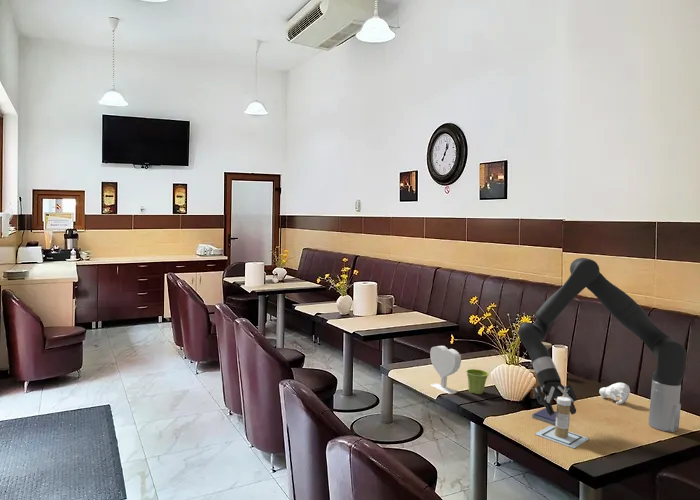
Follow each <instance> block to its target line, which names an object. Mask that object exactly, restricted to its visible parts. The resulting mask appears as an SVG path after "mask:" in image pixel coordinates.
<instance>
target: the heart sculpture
mask: <svg viewBox="0 0 700 500" xmlns="http://www.w3.org/2000/svg"><path fill="white" fill-rule="evenodd" d="M429 355H430V362H431V365H432V366H433V368H434V370H435V372H436V373H437V374H438V375H439V377H440V383H432V384H430V387H432V388H435V389H437V390H439V391H441V392H444V393H447V394H449V395H450V394H456V393H458V391H456V390H454V389H451V388H450V387H447V385H448V384H447V383H448V382H447V380H448V377H449V376H451V375H454V374H455V373H456V372H458V371H459V369H460V367H461V363H462V355H461V354H460V352H458V350H456V349H453V348H449V349H448V347H446V346H445V345H437V346H432V347H431V348H430V352H429Z"/></svg>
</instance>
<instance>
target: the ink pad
mask: <svg viewBox="0 0 700 500" xmlns="http://www.w3.org/2000/svg"><path fill="white" fill-rule="evenodd" d="M556 413H557V411H554V415H552V416H550V415H549V414H548V413H547V410H546V407H544V408H543V409H540V410H538V411H536V412H534V413H533V414H531V418H532V419H536V420H538V421H542V422H544V423H547V424H550V425H552V426H556V425H555V423H556Z"/></svg>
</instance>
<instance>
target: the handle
mask: <svg viewBox="0 0 700 500" xmlns="http://www.w3.org/2000/svg"><path fill="white" fill-rule="evenodd" d="M541 342H542V343H543V344H544V345H545V347H546V348H547V350H548V351H549V349H551V348H552V343H549V342H545V341H541Z"/></svg>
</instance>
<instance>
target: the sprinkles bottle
mask: <svg viewBox="0 0 700 500" xmlns="http://www.w3.org/2000/svg"><path fill="white" fill-rule="evenodd" d="M570 406H571V399H570V398H567V397H564V396H563V397H558V398H557V399H556V412H557V413H556V423H555V425H554V426H555V435H556V436H558V437H561V438H567V437H568V431H569V427H570V417H571V413H570Z"/></svg>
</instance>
